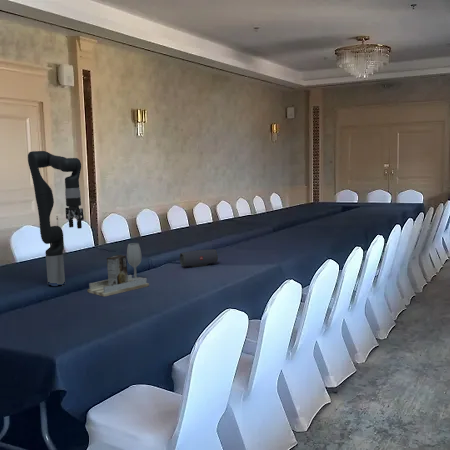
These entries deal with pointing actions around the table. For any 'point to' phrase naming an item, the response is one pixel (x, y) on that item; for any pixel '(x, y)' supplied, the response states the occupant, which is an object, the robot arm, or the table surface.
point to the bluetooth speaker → (198, 258)
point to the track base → (116, 286)
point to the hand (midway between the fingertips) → (75, 227)
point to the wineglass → (134, 257)
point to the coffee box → (117, 269)
